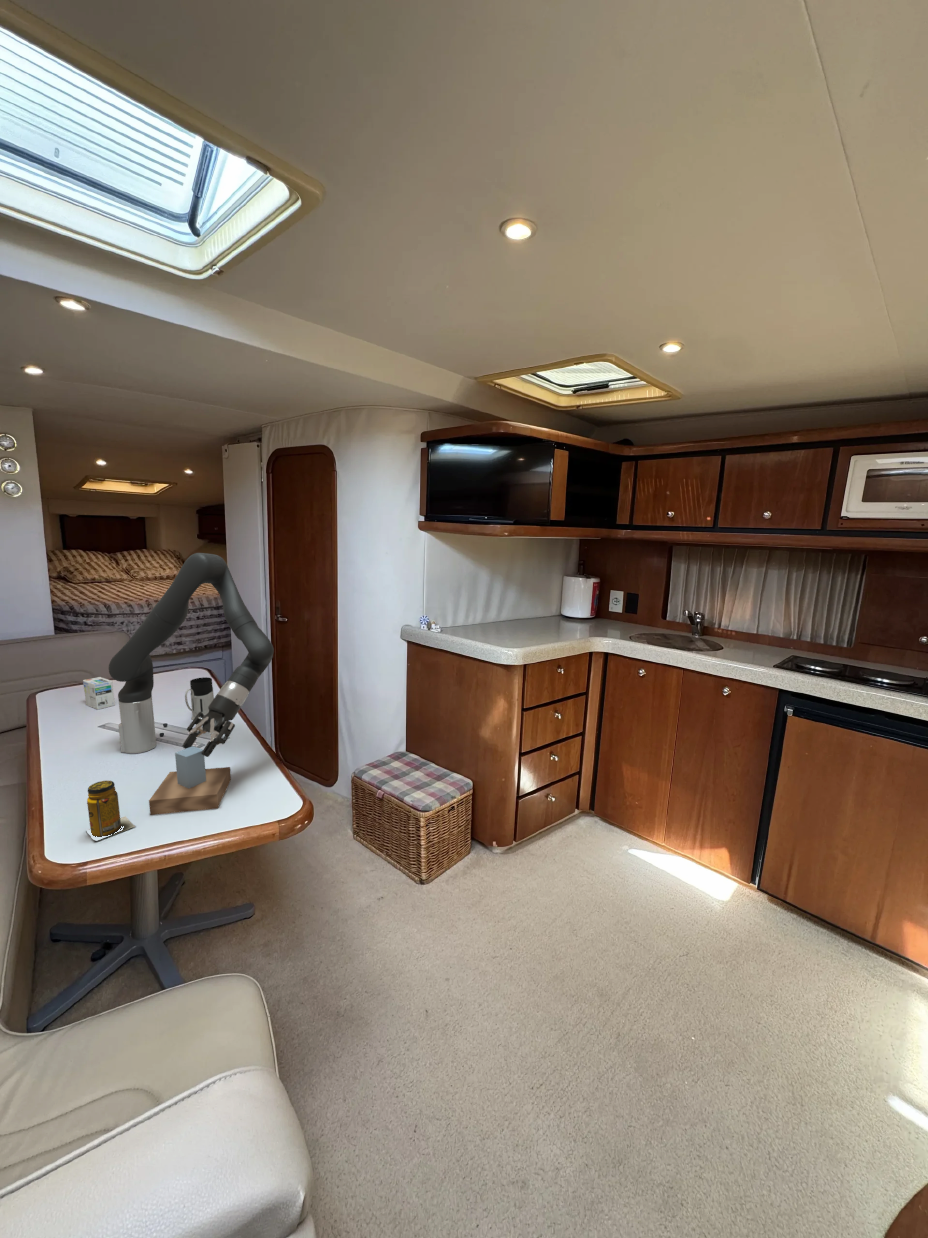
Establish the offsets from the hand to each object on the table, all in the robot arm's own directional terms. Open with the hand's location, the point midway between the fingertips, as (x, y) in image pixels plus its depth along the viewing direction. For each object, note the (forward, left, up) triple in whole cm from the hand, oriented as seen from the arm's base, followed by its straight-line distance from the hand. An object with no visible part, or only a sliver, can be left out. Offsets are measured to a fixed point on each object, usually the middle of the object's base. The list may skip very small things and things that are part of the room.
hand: (194, 752), depth 140 cm
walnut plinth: (-1, -1, -12) cm, 12 cm away
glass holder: (-15, +60, -13) cm, 63 cm away
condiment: (-16, -14, -13) cm, 25 cm away
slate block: (-1, -1, -8) cm, 8 cm away
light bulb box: (-59, +85, -13) cm, 104 cm away
